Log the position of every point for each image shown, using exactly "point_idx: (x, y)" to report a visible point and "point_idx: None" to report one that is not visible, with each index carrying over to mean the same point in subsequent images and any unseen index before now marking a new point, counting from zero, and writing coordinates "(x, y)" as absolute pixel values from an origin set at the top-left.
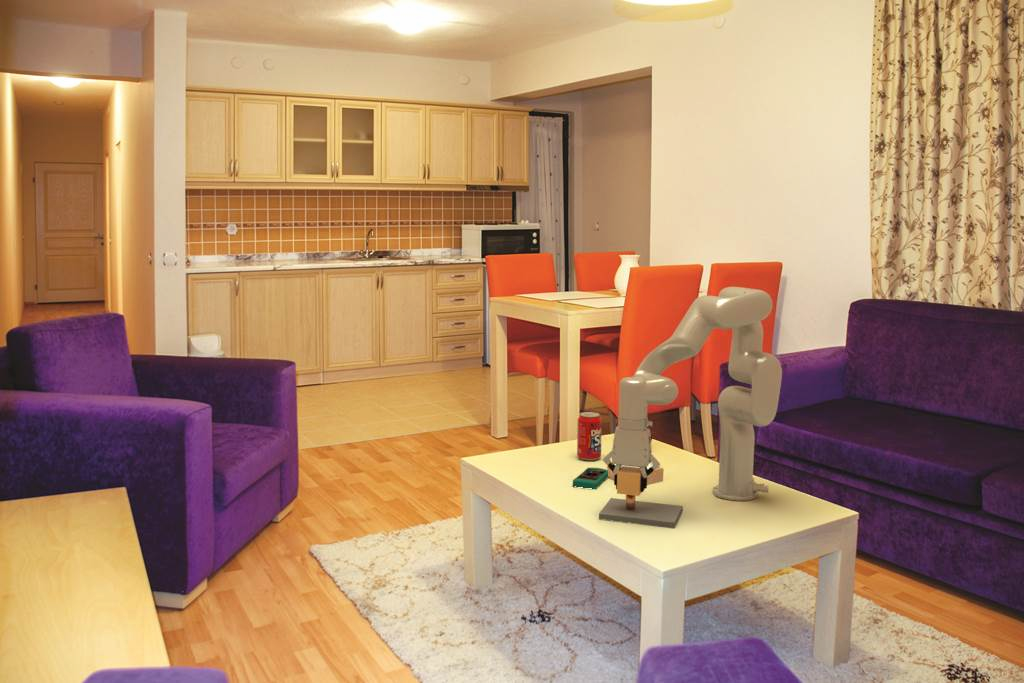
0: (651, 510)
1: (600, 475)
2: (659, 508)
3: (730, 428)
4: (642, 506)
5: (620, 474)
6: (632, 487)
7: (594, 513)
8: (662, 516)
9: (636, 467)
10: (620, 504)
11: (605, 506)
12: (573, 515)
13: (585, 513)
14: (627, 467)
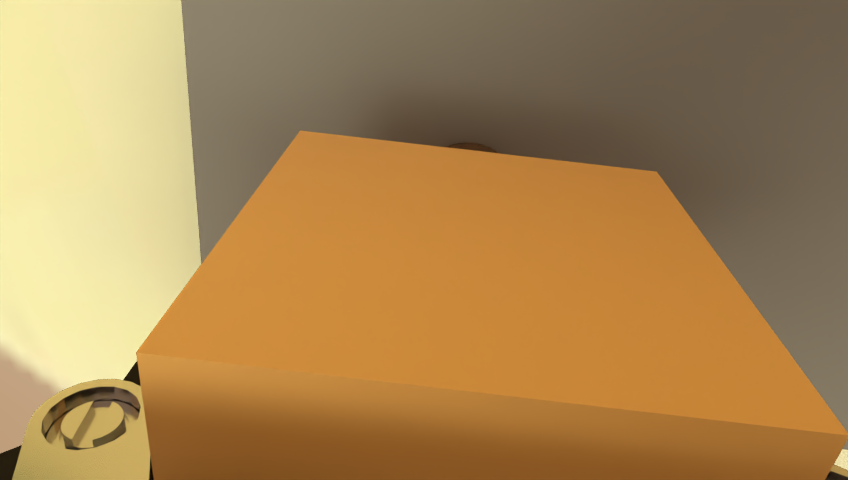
0: (692, 206)
1: None
2: (796, 121)
3: None
4: (598, 94)
5: None
6: None
7: (147, 223)
8: (781, 341)
9: (599, 412)
10: (343, 84)
11: (205, 184)
12: (8, 301)
13: (75, 238)
14: (326, 457)
